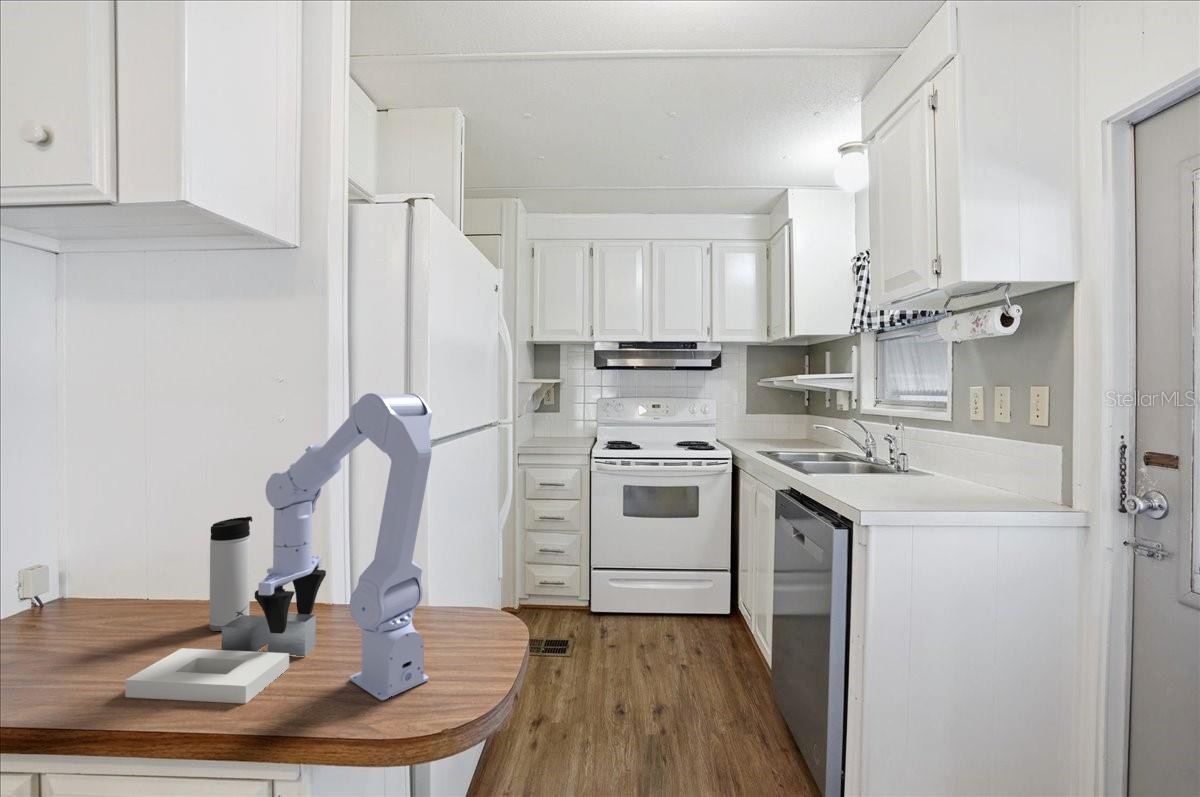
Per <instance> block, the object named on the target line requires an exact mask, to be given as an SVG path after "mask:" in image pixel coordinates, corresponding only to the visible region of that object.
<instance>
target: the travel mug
mask: <svg viewBox="0 0 1200 797" xmlns="http://www.w3.org/2000/svg"><path fill="white" fill-rule="evenodd" d="M251 522H253V517H252V516H249V515H248V516H246V517H245V516H244V517H242V516H241V517H233V518H228V519H225V520H220V521H217V522H215V523H213V524H212V525H211V526H210V540H209V545H210V546H209V621H208V622H209V623H208V624H209V630H210V631H212V632H215V631H222V627H223V626H225V625H226V624H228V623H230V622H232V621H233V620H235V619H237V618H239V617H240V616H242V615H250V596H251V595H250V589H251V588H250V584H251V583H250V581H251V578H250V574H251V532H250V529H251V528H250V527H251V526H250V523H251Z"/></svg>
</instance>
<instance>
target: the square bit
mask: <svg viewBox="0 0 1200 797" xmlns="http://www.w3.org/2000/svg"><path fill="white" fill-rule="evenodd" d="M267 644H268V623H267V619H266V616H265V615H252V614H251V615H250V614H249V615H242V616H240V617H239V618H237V619H235V620H233V621H232V622H230V623H228V624H226V625H225V626H223V627H222V632H221V650H229V651H250V652H257V651H258V650H259V649H261V648H262V647H264V646H266V645H267Z"/></svg>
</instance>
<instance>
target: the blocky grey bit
mask: <svg viewBox="0 0 1200 797" xmlns="http://www.w3.org/2000/svg"><path fill="white" fill-rule="evenodd" d="M316 616H317V615H316V614H310V615H309V614H298V613H288V615H287V625H286V629H285V632H284V633H282V634H280V633H270V630H269V626H268V646H267V652H271V653H289V655H296V656H304V657H305V656H306V655H307V654H309V653H310V652H311V651H312V650H314V649H315V650H316V639H317V637H316V632H317V631H316V628H317V627H316V625H317V622H316V621H317V619H316ZM315 650H314V651H315ZM311 653H312V652H311ZM311 653H310V654H311ZM310 654H309V655H310ZM304 657H303V658H304ZM305 658H306V657H305Z"/></svg>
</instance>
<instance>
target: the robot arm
mask: <svg viewBox="0 0 1200 797" xmlns="http://www.w3.org/2000/svg"><path fill="white" fill-rule="evenodd" d="M349 414H350V415H349V416H348V418H346V420H345V421H344V422H343V423H342V424H341V425H340V427H338V429H336V431H334V433H333V434H332V436H331V437H330V438H328V440H327V441H326V442H325V444H322V443H319V444H318V443H317V444H313V445H308V446H307V447H306V448H305V453H304V454H302V456H301V457H299V459H298V460H296V461H295V462H293V463H291V464H290V466H289V468H288V469H287V470H286V471H284V472H274V473H272V474H271V475H270V477H269V478H268V480H267V482H266V484H265V496H266V500H267V502H268V504H270V506H271V507H272V508H273V537H272V538H273V542H272V543H273V548H272V549H273V550H272V551H273V553H272V554H273V556H272V557H273V558H272V562H273V563H272V566H271V567H268V568H267V569H266V574H267V575H266V577H265V578H264V579H263V580H261V581H259V582H258V585H257V586H258V588H257V590H255V591H254V600H256V602H257V603H258V604H259V605H260V607H261V609H262V612H263V613H264V616H266V619H267V623H268V626H269V630H270V633H280V634H282V633H284V632H285V629H286V625H287V615H288V614H289V608H290V606H291V602H292V600H293V597H294V595H295V599H296V600H295V602H296V610H297V614H309V615H312V612H313V610H314V606H315V602H316V598H317V596H318V595H317V594H318V592H319V589H320V587H321V584H322V582H323V580H324V578H326V575H327V571H326V570H325V569H320V568H322V566H323V565H322V563H323V562H322V561H323V560H322V559H323V556H319V555H313V553H312V552H313V550H312V549H313V548H312V547H313V546H312V545H313V542H312V541H313V514H314V513H315V511H316V509H317V507H316V505H317V501H318V499H319V498H320V496H321V492H322V487H323V486H324V485H326V483H328V481H330V480H331V479H332V478H333V477H334V476H335V475H336V474H338V472H340V470H341V468H342V467H343V460H342V459H344V458H345V457H346V456H347V455H348V454H350V453H351V452H352V451H354V449H356V448H357V447H358V446H360V445H361V444H362V443H363V442H365V441H366V440H367V439H368V440H369V441H370V442H372V444H374V445H375V446H376V447H377V448H378V449H379V450H380V451H381V452H383V453H385V454H386V455H387V456H388V457H389V459H390V461H391V463H390V469H389V473H388V480H387V484H386V485H387V486H386V490H385V497H384V500H383V501H384V502H383V507H382V512H381V513H382V514H381V519H380V524H379V529H378V536H377V540H376V542H377V543H376V546H375V552H374V559H373V560H372V562H371V563H370V564H369V565H368V566H367V567H366V568H365V569H364V570H363V572H362V573H361V575H360V576H359V577H358V582H357V586H356V588H355V589H354V591H353V592H352V594H351V597H350V599H349V612H350V615H351V618H352V620H353V621H354V623H355V624H356V625H357V627H358V628H359V629H361V663H360V664H361V671H359V672H357V673H355V674H352V675H350V676H349V681H351V682H352V683H354V684H356V685H357V686H359V687H360V688H362V689H363V690H364V691H366V692H368V693H369V694H371V695H372V696H374V697H375V698H377V699H378V700H379V701H385V700H388V699H389V697H390V698H392V697H394V696H396V695H399V694H400V693H402V692H403V693H404V692H405V691H408V690H409V689H411V688H414V687H417V686H418V685H420V684H423V683H425V682H427V681H428V680H430V678H429V676H428V675H427V674H425V672H424V671H425V665H424V664H425V643H424V642H425V641H424V638H423V637H422V635H421V634H420V633H419V632H418V631H417V630H416V629H415V627H414V624H413V617H414V616H415V614H416V613H415V612H416V611H415V610H416V608H417V607H418V606H419V605H420V604H421V602H422V599H423V594H424V593H423V592H424V591H423V585H422V574H423V569H422V568H421V566H419V565H418V563H416V562H415V561H414V560H413V557H414V551H415V547H416V541H417V536H418V530H419V526H420V525H419V524H420V519H421V514H422V510H423V503H424V498H425V497H424V496H425V492H426V487H427V480H428V477H429V471H430V466H431V460H432V452H433V451H432V443H431V436H430V427H431V423H432V422H431V421H432V417H433V411H432V410H431V409H430V407H429V406H428V404H427V403H426V401H425V399H424V398H423V397H421V395H419V394H416V393H413V392H412V393H406V394H404V393H403V394H402V393H401V394H400V393H399V394H398V393H396V394H393V393H391V394H389V393H387V394H385V393H382V394H380V393H374V392H369V393H366V394H364V395H362V396H361V397H360V398H359V399H358V400H357V402H356V403H354V404H352V405H351V407H350V413H349ZM291 582H292V585H293V587H294V590H293V591H292V590H286V589H285V588H284V586H285V585H287V584H290V583H291ZM391 696H392V697H391Z"/></svg>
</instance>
